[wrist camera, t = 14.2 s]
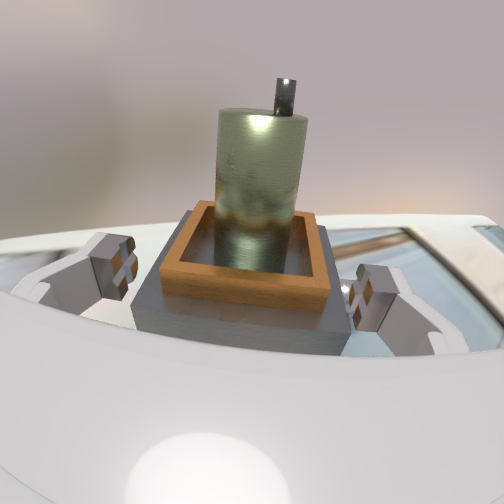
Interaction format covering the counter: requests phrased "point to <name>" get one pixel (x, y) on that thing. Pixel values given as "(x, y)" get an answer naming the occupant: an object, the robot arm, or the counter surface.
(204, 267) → the grey drawer box
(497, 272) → the counter surface
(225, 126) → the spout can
